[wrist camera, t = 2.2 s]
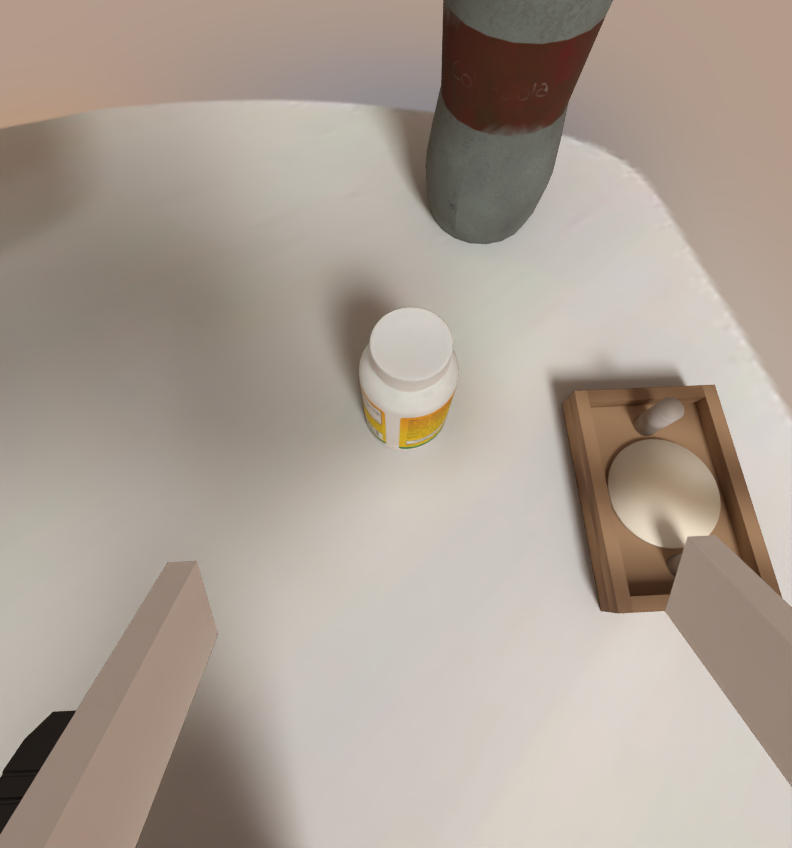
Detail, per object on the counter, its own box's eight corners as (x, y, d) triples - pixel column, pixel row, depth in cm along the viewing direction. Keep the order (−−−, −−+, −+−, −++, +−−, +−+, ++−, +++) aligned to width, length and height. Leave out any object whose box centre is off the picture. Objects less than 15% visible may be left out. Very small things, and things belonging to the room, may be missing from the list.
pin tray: (753, 602, 26) (817, 606, 22) (601, 610, 26) (637, 615, 22) (692, 398, 31) (737, 370, 27) (562, 404, 30) (587, 377, 26)
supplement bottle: (354, 437, 30) (335, 372, 21) (382, 368, 31) (376, 281, 22) (431, 463, 29) (447, 409, 20) (455, 392, 31) (480, 312, 22)
